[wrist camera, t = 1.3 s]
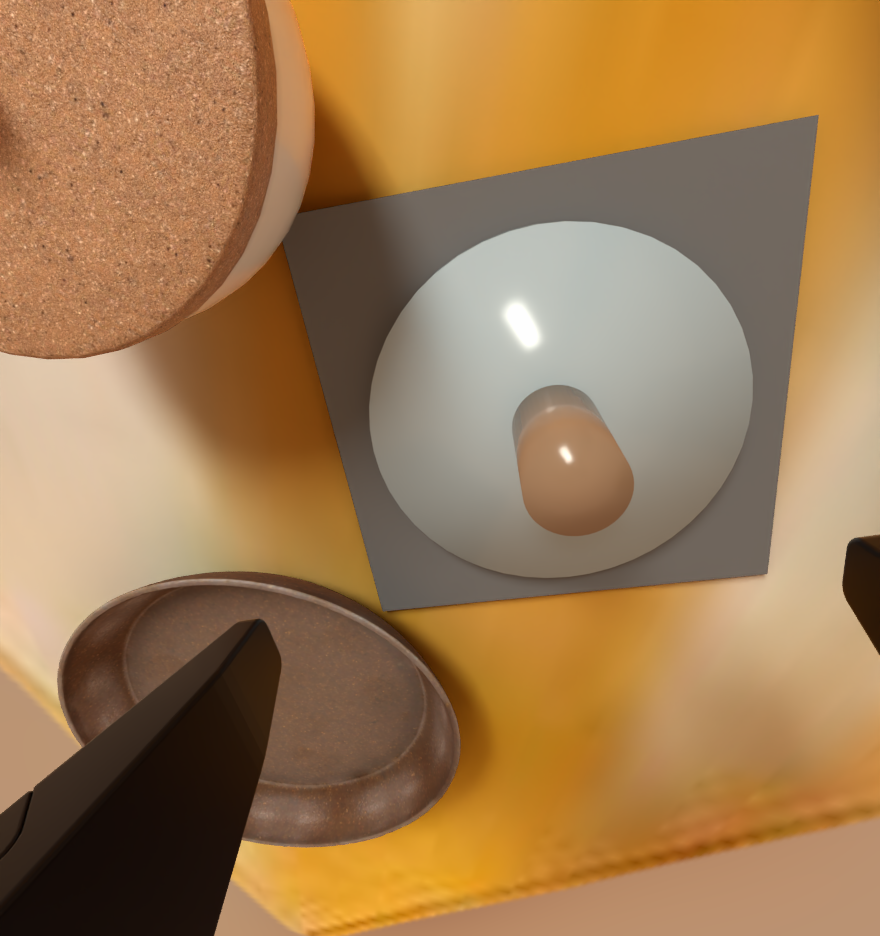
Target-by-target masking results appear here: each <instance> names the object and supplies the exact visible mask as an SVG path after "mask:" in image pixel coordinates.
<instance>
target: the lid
mask: <svg viewBox="0 0 880 936" xmlns="http://www.w3.org/2000/svg"><path fill="white" fill-rule="evenodd" d="M752 401H753V374H752V367H751V360H750V353H749V349H748V346H747V342H746V339H745V336H744V333H743V330H742V327H741V325H740V323H739V321H738V319H737V317H736V315H735V313H734V311H733V309H732V307H731V305H730V303H729V302H728V300H727V299H726V298H725V296H724V295H723V293H722V292H721V291H720V289H719V288H718V286H717V285H716V284H715V283H714V282H713V281H712V280H711V279H710V278H709V277H708V276H707V275H706V274H705V273H704V272H703V271H702V270H701V269H700V267H699V266H698V265H696V264H695V263H694V262H692V261H691V260H689V259H688V258H687V257H685V256H684V255H683V254H681V253H680V252H679V251H677V250H676V249H674V248H672V247H670V246H668V245H666V244H664V243H662V242H660V241H658V240H656V239H655V238H653V237H650V236H647V235H644V234H642V233H639V232H636V231H633V230H630V229H627V228H623V227H619V226H614V225H608V224H602V223H597V222H591V221H555V222H546V223H537V224H532V225H528V226H524V227H520V228H516V229H512V230H508V231H506V232H503V233H501V234H498V235H496V236H493V237H491V238H488V239H486V240H483V241H481V242H480V243H478V244H476V245H474V246H472V247H471V248H469V249H467V250H465V251H464V252H462V253H460V254H458V255H457V256H456V257H454V258H453V259H452V260H450V261H449V262H448V263H447V264H445V265H444V266H443V267H441V268H440V269H439V270H437V271H436V272H435V273H434V274H433V275H432V276H431V277H430V278H429V279H428V280H427V281H426V282H425V283H424V284H423V285H422V286H421V287H420V288H419V289H418V290H417V292H416V293H415V294H414V295H413V297H412V298H411V299H410V301H409V302H408V303H407V305H406V306H405V307H404V308H403V310H402V311H401V313H400V315H399V316H398V318H397V320H396V322H395V323H394V325H393V327H392V329H391V330H390V332H389V334H388V336H387V338H386V340H385V343H384V345H383V348H382V350H381V353H380V355H379V358H378V360H377V364H376V368H375V372H374V376H373V380H372V385H371V394H370V403H369V419H370V433H371V439H372V445H373V451H374V454H375V457H376V460H377V463H378V467H379V470H380V472H381V475H382V477H383V479H384V481H385V483H386V485H387V487H388V489H389V491H390V493H391V494H392V496H393V497H394V499H395V501H396V502H397V504H398V505H399V507H400V508H401V509H402V511H403V512H404V513H405V514H406V515H407V516H408V518H409V519H410V520H411V521H412V522H413V523H414V525H416V526H417V527H418V528H419V529H420V530H421V531H422V532H423V533H424V534H425V535H427V536H428V537H429V538H430V539H431V540H433V541H434V542H436V543H437V544H438V545H440V546H441V547H443V548H444V549H445V550H447V551H449V552H451V553H453V554H454V555H456V556H458V557H460V558H462V559H464V560H466V561H468V562H471V563H473V564H476V565H478V566H481V567H483V568H486V569H490V570H494V571H497V572H501V573H505V574H511V575H517V576H523V577H537V578H557V577H571V576H577V575H584V574H590V573H594V572H598V571H602V570H605V569H609V568H612V567H615V566H618V565H620V564H623V563H626V562H628V561H631V560H633V559H635V558H637V557H639V556H641V555H643V554H645V553H647V552H649V551H651V550H653V549H655V548H656V547H658V546H659V545H661V544H663V543H664V542H666V541H667V540H669V539H670V538H672V537H673V536H674V535H676V534H677V533H678V532H679V531H681V530H682V529H683V528H684V527H685V526H687V525H688V524H689V523H690V522H691V521H692V520H693V519H694V518H695V517H696V516H697V515H698V514H699V513H700V512H701V511H702V510H703V509H704V508H705V507H706V506H707V505H708V503H709V502H710V501H711V500H712V498H713V497H714V496H715V495H716V493H717V492H718V491H719V489H720V488H721V486H722V485H723V483H724V482H725V480H726V478H727V477H728V475H729V473H730V472H731V470H732V468H733V466H734V464H735V462H736V459H737V457H738V455H739V453H740V450H741V448H742V446H743V442H744V439H745V436H746V432H747V429H748V425H749V421H750V414H751V407H752Z"/></svg>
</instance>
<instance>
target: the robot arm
mask: <svg viewBox="0 0 880 936" xmlns="http://www.w3.org/2000/svg"><path fill="white" fill-rule="evenodd" d="M842 586H843V592H844V595H845V598H846V600H847V602H848V604H849V605H850V607H851V609H852V610H853V612H854V614H855V615H856V617H857V619H858V620H859V622H860V624H861V625H862V627H863V629H864V630H865V632H866V633H867V635H868V637H869V638H870V640H871V642H872V643H873V645H874V647H875V648H876V650H877V652H878V653H879V655H880V535H873V536H865V537H858V538H854V539H852V540H851V541H850V542H849V544H848V546H847V551H846V558H845V566H844V574H843V582H842ZM281 669H282V661H281V655H280V652H279V650H278V648H277V646H276V643H275V641H274V639H273V636H272V634H271V632H270V630H269V627H268V625H267V623H266V622H265V621H264V620H262V619H259V618H258V619H250V620H243V621H239V622H237V623H235V624H234V625H233V626H232V627H230V628H229V629H228V630H227V631H225V632H224V633H223V634H222V635H220V636H219V637H218V638H217V639H216V640H214V641H213V642H212V643H211V644H209V645H208V646H207V647H206V648H204V649H203V650H202V651H201V652H200V653H198V654H197V655H196V656H195V657H193V658H192V659H191V660H190V661H188V662H187V663H186V664H185V665H184V666H182V667H181V668H180V669H179V670H177V671H176V672H175V673H174V674H172V675H171V676H170V677H169V678H168V679H166V680H165V681H164V682H163V683H161V684H160V685H159V686H158V687H156V688H155V689H154V690H153V691H152V692H150V693H149V694H148V695H147V696H145V697H144V698H143V699H142V700H140V701H139V702H138V703H137V704H136V705H134V706H133V707H132V708H131V709H129V710H128V711H127V712H126V713H124V714H123V715H122V716H121V717H120V718H118V719H117V720H116V721H115V722H113V723H112V724H111V725H110V726H108V727H107V728H106V729H105V730H104V731H102V732H101V733H100V734H99V735H97V736H96V737H95V738H94V739H92V740H91V741H90V742H89V743H88V744H86V745H85V746H84V747H83V748H81V749H80V750H79V751H78V752H76V753H75V754H74V755H73V756H72V757H70V758H69V759H68V760H67V761H65V762H64V763H63V764H62V765H61V766H59V767H58V768H57V769H56V770H54V771H53V772H52V773H51V774H49V775H48V776H47V777H46V778H45V779H43V780H42V781H41V782H40V783H38V784H37V785H36V786H35V787H34V790H33V791H29V792H27V793H26V794H25V795H23V796H22V797H21V798H20V799H18V800H17V801H16V802H15V803H14V804H12V805H11V806H10V807H9V808H8V809H6V810H5V811H4V812H3V813H2V814H0V936H214V934H215V930H216V927H217V923H218V920H219V916H220V913H221V909H222V906H223V903H224V899H225V896H226V892H227V889H228V885H229V882H230V878H231V875H232V872H233V868H234V865H235V861H236V858H237V854H238V851H239V847H240V844H241V840H242V837H243V834H244V830H245V827H246V823H247V820H248V816H249V813H250V809H251V806H252V802H253V799H254V796H255V792H256V789H257V785H258V782H259V778H260V775H261V771H262V767H263V764H264V760H265V756H266V751H267V746H268V741H269V736H270V730H271V725H272V719H273V714H274V708H275V703H276V697H277V691H278V686H279V680H280V675H281Z"/></svg>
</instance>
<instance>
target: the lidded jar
mask: <svg viewBox="0 0 880 936" xmlns="http://www.w3.org/2000/svg"><path fill="white" fill-rule="evenodd" d="M314 142H315V104H314V96H313V88H312V80H311V72H310V66H309V62H308V58H307V54H306V50H305V47H304V43H303V39H302V35H301V31H300V27H299V24H298V21H297V18H296V14H295V12H294V9H293V6H292V4H291V1H290V0H0V351H1V352H4V353H8V354H12V355H19V356H27V357H35V358H43V359H69V358H86V357H91V356H95V355H100V354H105V353H109V352H114V351H118V350H121V349H124V348H127V347H130V346H132V345H135V344H137V343H140V342H142V341H144V340H147V339H149V338H151V337H154V336H156V335H158V334H161V333H163V332H165V331H167V330H169V329H170V328H172V327H173V326H175V325H176V324H178V323H179V322H181V321H182V320H185V319H187V318H189V317H192V316H194V315H196V314H198V313H201V312H203V311H205V310H208V309H209V308H211V307H212V306H214V305H215V304H217V303H218V302H220V301H221V300H223V299H224V298H226V297H227V296H228V295H230V294H231V293H233V292H234V291H236V290H237V289H239V288H240V287H241V286H243V285H244V284H246V283H247V282H248V281H249V280H250V279H251V278H252V277H253V276H254V275H255V274H256V273H257V272H258V271H259V270H260V269H261V268H262V267H263V266H264V265H265V264H266V262H267V261H268V260H269V259H270V257H271V256H272V255H273V253H274V252H275V250H276V249H277V248H278V246H279V245H280V243H281V242H282V240H283V239H284V238H285V236H286V235H287V233H288V232H289V230H290V227H291V225H292V223H293V221H294V219H295V217H296V215H297V213H298V211H299V208H300V206H301V203H302V200H303V197H304V193H305V190H306V186H307V183H308V180H309V176H310V170H311V163H312V156H313V149H314Z"/></svg>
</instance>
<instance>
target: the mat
mask: <svg viewBox="0 0 880 936" xmlns="http://www.w3.org/2000/svg"><path fill="white" fill-rule="evenodd" d="M817 124H818V115H816V116H810V117H805V118H800V119H795V120H789V121H784V122H779V123H773V124H768V125H763V126H758V127H752V128H747V129H742V130H736V131H731V132H726V133H720V134H715V135H710V136H705V137H699V138H694V139H689V140H683V141H678V142H673V143H668V144H662V145H657V146H652V147H646V148H641V149H636V150H630V151H625V152H620V153H615V154H609V155H604V156H599V157H593V158H588V159H583V160H578V161H572V162H567V163H562V164H556V165H551V166H546V167H541V168H535V169H530V170H525V171H519V172H514V173H509V174H503V175H498V176H493V177H488V178H482V179H477V180H472V181H466V182H461V183H456V184H451V185H445V186H440V187H435V188H429V189H424V190H419V191H414V192H408V193H403V194H398V195H392V196H387V197H382V198H376V199H371V200H366V201H361V202H355V203H350V204H345V205H339V206H334V207H329V208H324V209H318V210H313V211H308V212H302V213H297V215H296V217H295V219H294V221H293V223H292V225H291V227H290V230H289V232H288V233H287V235H286V236H285V238H284V239H283V240H282V242H283V246H284V249H285V253H286V257H287V260H288V264H289V268H290V271H291V275H292V279H293V282H294V286H295V290H296V293H297V297H298V301H299V305H300V308H301V312H302V316H303V319H304V323H305V327H306V330H307V334H308V338H309V341H310V345H311V349H312V352H313V356H314V360H315V363H316V367H317V371H318V375H319V378H320V382H321V386H322V389H323V393H324V397H325V400H326V404H327V408H328V411H329V415H330V419H331V422H332V426H333V430H334V433H335V437H336V441H337V445H338V448H339V452H340V456H341V459H342V463H343V467H344V470H345V474H346V478H347V481H348V485H349V489H350V492H351V496H352V500H353V503H354V507H355V511H356V514H357V518H358V522H359V526H360V529H361V533H362V537H363V540H364V544H365V548H366V551H367V555H368V559H369V562H370V566H371V570H372V573H373V577H374V581H375V584H376V588H377V592H378V596H379V599H380V603H381V607H382V610H383V611H392V610H402V609H412V608H423V607H433V606H443V605H453V604H464V603H474V602H484V601H495V600H505V599H515V598H526V597H536V596H546V595H556V594H567V593H577V592H587V591H598V590H608V589H618V588H629V587H639V586H649V585H659V584H670V583H680V582H690V581H701V580H711V579H721V578H732V577H742V576H752V575H762V574H767V572H768V563H769V554H770V545H771V536H772V527H773V518H774V509H775V500H776V491H777V482H778V474H779V465H780V456H781V447H782V438H783V429H784V420H785V411H786V402H787V393H788V384H789V375H790V366H791V357H792V348H793V339H794V330H795V321H796V312H797V303H798V294H799V285H800V277H801V268H802V259H803V250H804V241H805V232H806V223H807V214H808V205H809V196H810V187H811V178H812V169H813V160H814V151H815V142H816V133H817ZM555 221H591V222H597V223H602V224H608V225H614V226H619V227H623V228H627V229H630V230H633V231H636V232H639V233H642V234H644V235H647V236H650V237H653V238H655V239H656V240H658V241H660V242H662V243H664V244H666V245H668V246H670V247H672V248H674V249H676V250H677V251H679V252H680V253H681V254H683V255H684V256H685V257H687V258H688V259H689V260H691V261H692V262H694V263H695V264H696V265H698V266H699V267H700V269H701V270H702V271H703V272H704V273H705V274H706V275H707V276H708V277H709V278H710V279H711V280H712V281H713V282H714V283H715V284H716V285H717V286H718V288H719V289H720V291H721V292H722V293H723V295H724V296H725V298H726V299H727V300H728V302H729V303H730V305H731V307H732V309H733V311H734V313H735V315H736V317H737V319H738V321H739V323H740V325H741V327H742V330H743V333H744V336H745V339H746V342H747V346H748V349H749V353H750V360H751V367H752V374H753V401H752V407H751V414H750V421H749V425H748V429H747V432H746V436H745V439H744V442H743V446H742V448H741V450H740V453H739V455H738V457H737V459H736V462H735V464H734V466H733V468H732V470H731V472H730V473H729V475H728V477H727V478H726V480H725V482H724V483H723V485H722V486H721V488H720V489H719V491H718V492H717V493H716V495H715V496H714V497H713V498H712V500H711V501H710V502H709V503H708V505H707V506H706V507H705V508H704V509H703V510H702V511H701V512H700V513H699V514H698V515H697V516H696V517H695V518H694V519H693V520H692V521H691V522H690V523H689V524H688V525H687V526H685V527H684V528H683V529H682V530H681V531H679V532H678V533H677V534H676V535H674V536H673V537H672V538H670V539H669V540H667V541H666V542H664V543H663V544H661V545H659V546H658V547H656V548H655V549H653V550H651V551H649V552H647V553H645V554H643V555H641V556H639V557H637V558H635V559H633V560H631V561H628V562H626V563H623V564H620V565H618V566H615V567H612V568H609V569H605V570H602V571H598V572H594V573H590V574H584V575H577V576H571V577H557V578H537V577H523V576H517V575H511V574H505V573H501V572H497V571H494V570H490V569H486V568H483V567H481V566H478V565H476V564H473V563H471V562H468V561H466V560H464V559H462V558H460V557H458V556H456V555H454V554H453V553H451V552H449V551H447V550H445V549H444V548H443V547H441V546H440V545H438V544H437V543H436V542H434V541H433V540H431V539H430V538H429V537H428V536H427V535H425V534H424V533H423V532H422V531H421V530H420V529H419V528H418V527H417V526H416V525H414V523H413V522H412V521H411V520H410V519H409V518H408V516H407V515H406V514H405V513H404V512H403V511H402V509H401V508H400V507H399V505H398V504H397V502H396V501H395V499H394V497H393V496H392V494H391V493H390V491H389V489H388V487H387V485H386V483H385V481H384V479H383V477H382V475H381V472H380V470H379V467H378V463H377V460H376V457H375V454H374V451H373V445H372V439H371V433H370V419H369V403H370V394H371V385H372V380H373V376H374V372H375V368H376V364H377V360H378V358H379V355H380V353H381V350H382V348H383V345H384V343H385V340H386V338H387V336H388V334H389V332H390V330H391V329H392V327H393V325H394V323H395V322H396V320H397V318H398V316H399V315H400V313H401V311H402V310H403V308H404V307H405V306H406V305H407V303H408V302H409V301H410V299H411V298H412V297H413V295H414V294H415V293H416V292H417V290H418V289H419V288H420V287H421V286H422V285H423V284H424V283H425V282H426V281H427V280H428V279H429V278H430V277H431V276H432V275H433V274H434V273H435V272H436V271H437V270H439V269H440V268H441V267H443V266H444V265H445V264H447V263H448V262H449V261H450V260H452V259H453V258H454V257H456V256H457V255H458V254H460V253H462V252H464V251H465V250H467V249H469V248H471V247H472V246H474V245H476V244H478V243H480V242H481V241H483V240H486V239H488V238H491V237H493V236H496V235H498V234H501V233H503V232H506V231H508V230H512V229H516V228H520V227H524V226H528V225H532V224H537V223H546V222H555Z"/></svg>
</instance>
